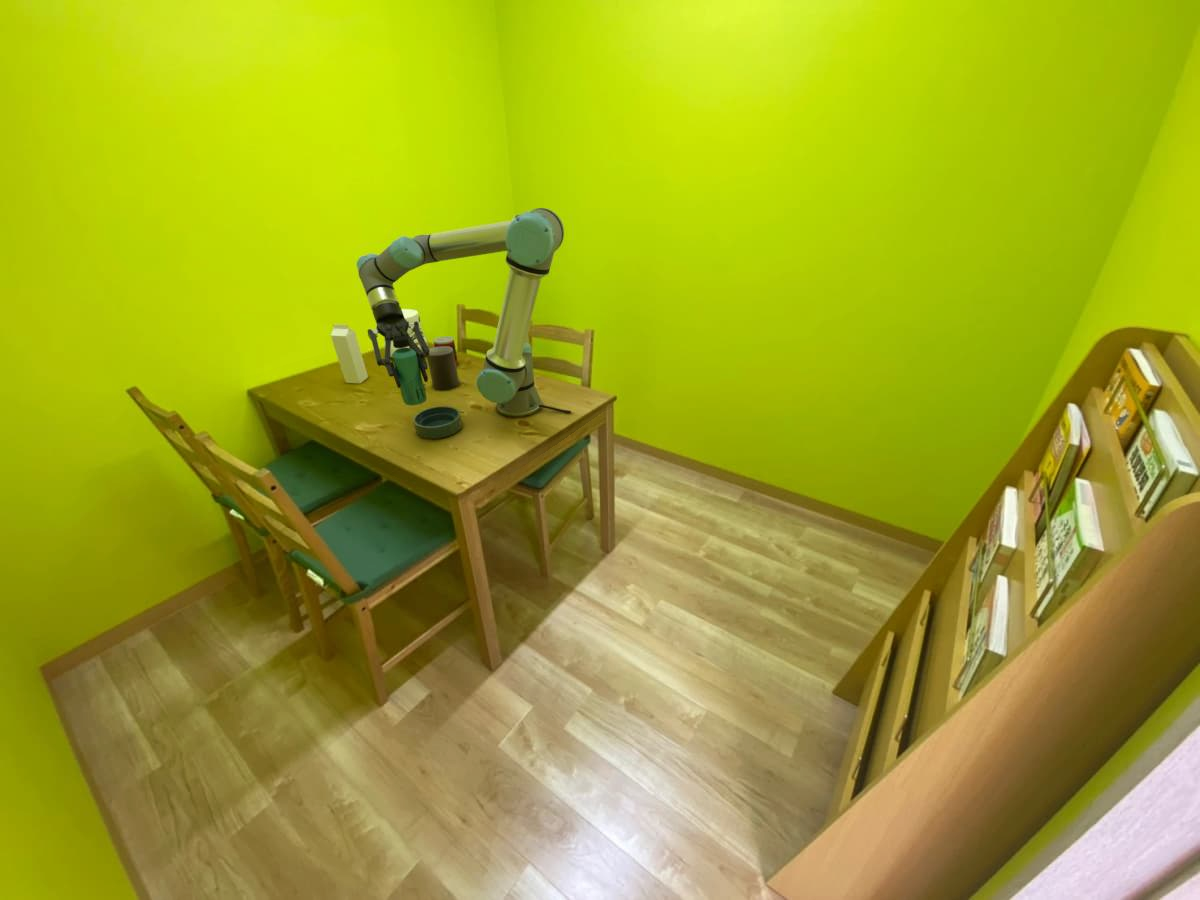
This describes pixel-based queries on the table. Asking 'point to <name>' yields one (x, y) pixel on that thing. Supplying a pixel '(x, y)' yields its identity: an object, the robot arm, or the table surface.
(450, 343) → the canned food
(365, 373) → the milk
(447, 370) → the pillar candle
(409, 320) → the milk container
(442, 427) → the dish
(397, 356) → the beverage bottle
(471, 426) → the table surface
